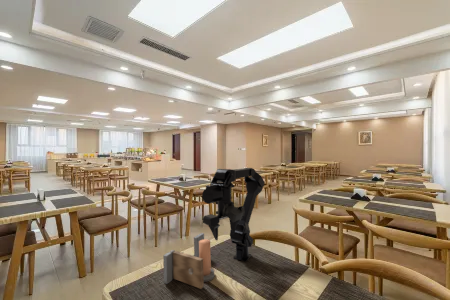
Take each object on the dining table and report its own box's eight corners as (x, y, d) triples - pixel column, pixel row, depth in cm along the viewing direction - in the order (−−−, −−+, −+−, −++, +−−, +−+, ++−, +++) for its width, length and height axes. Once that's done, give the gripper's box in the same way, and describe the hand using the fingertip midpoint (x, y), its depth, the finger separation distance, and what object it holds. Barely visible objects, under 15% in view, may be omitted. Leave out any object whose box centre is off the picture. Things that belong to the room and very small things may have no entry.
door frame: (201, 254, 101) (201, 232, 101) (204, 255, 100) (204, 233, 100) (164, 282, 80) (163, 255, 80) (166, 284, 79) (166, 256, 79)
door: (168, 278, 82) (167, 252, 82) (172, 275, 84) (172, 249, 84) (199, 290, 74) (198, 261, 74) (203, 286, 77) (203, 258, 77)
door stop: (205, 269, 88) (205, 236, 88) (218, 275, 84) (217, 241, 84) (192, 276, 83) (191, 242, 83) (204, 284, 78) (204, 247, 78)
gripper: (220, 206, 76) (220, 250, 76) (254, 198, 89) (254, 236, 89) (201, 201, 85) (202, 241, 84) (235, 195, 97) (235, 229, 97)
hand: (225, 236), depth 88 cm, fingers open, 9 cm apart
